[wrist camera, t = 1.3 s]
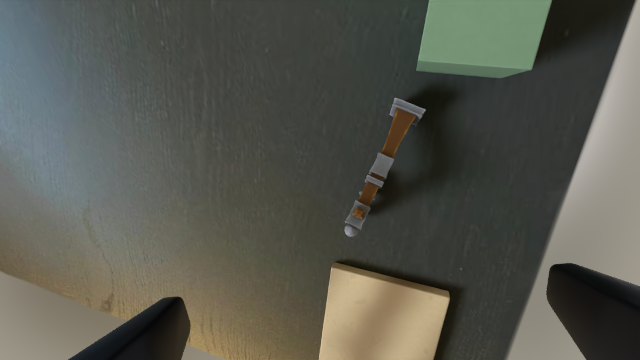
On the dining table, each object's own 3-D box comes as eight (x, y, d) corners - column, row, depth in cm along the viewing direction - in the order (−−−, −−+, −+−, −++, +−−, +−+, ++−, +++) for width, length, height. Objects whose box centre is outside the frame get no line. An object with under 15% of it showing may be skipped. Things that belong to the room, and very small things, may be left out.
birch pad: (449, 290, 20) (450, 298, 19) (421, 392, 23) (422, 402, 22) (333, 261, 22) (331, 267, 21) (320, 358, 24) (317, 366, 24)
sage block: (525, -16, 15) (570, -61, 11) (501, 78, 16) (532, 70, 12) (432, -18, 16) (440, -59, 12) (416, 71, 17) (417, 60, 13)
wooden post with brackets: (337, 227, 20) (332, 229, 16) (386, 122, 21) (395, 95, 16) (361, 239, 20) (364, 244, 15) (411, 132, 20) (427, 108, 16)
